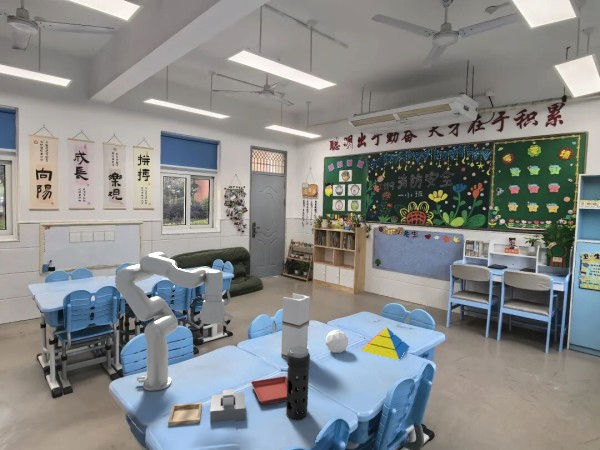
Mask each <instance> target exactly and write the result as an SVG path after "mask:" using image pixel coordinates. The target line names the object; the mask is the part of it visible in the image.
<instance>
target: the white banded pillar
mask: <svg viewBox="0 0 600 450" xmlns="http://www.w3.org/2000/svg"><path fill="white" fill-rule="evenodd" d="M310 302H311V296H308V295H304V294H299V293H294V292H293V293H292V297H286V296H283V297H282V318H281V319H282V323H281V324H282V325H281V356H280V357H281V358H282V359H286V360H287V354H288V353H289V349H290V348H291V347H295V346H302V347H306V348H307V349H308V341H309V340H308V337H309V334H308V333H309V326H310V312H311V311H310V309H311V308H310V307H311V306H310V305H311V303H310Z"/></svg>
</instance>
